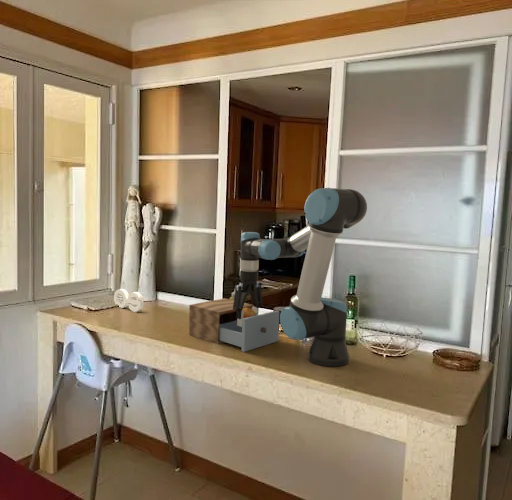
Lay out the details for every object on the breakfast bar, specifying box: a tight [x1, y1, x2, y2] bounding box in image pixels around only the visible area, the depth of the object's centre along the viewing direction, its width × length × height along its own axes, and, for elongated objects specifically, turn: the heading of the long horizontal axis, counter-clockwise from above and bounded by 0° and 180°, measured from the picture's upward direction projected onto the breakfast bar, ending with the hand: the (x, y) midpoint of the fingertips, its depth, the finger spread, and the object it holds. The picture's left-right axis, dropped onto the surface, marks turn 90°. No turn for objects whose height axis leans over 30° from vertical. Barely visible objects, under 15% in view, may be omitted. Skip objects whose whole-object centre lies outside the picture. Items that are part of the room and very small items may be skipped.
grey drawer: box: [219, 311, 280, 353], centre depth 198 cm, size 20×21×13 cm
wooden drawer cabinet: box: [188, 297, 254, 345], centre depth 208 cm, size 18×21×13 cm
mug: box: [272, 306, 287, 324], centre depth 217 cm, size 11×8×10 cm
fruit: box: [242, 308, 256, 318], centre depth 198 cm, size 8×8×8 cm
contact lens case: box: [113, 288, 145, 313], centre depth 250 cm, size 22×2×10 cm, turn 52°
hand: (247, 324), depth 198 cm, fingers closed on fruit, 8 cm apart
